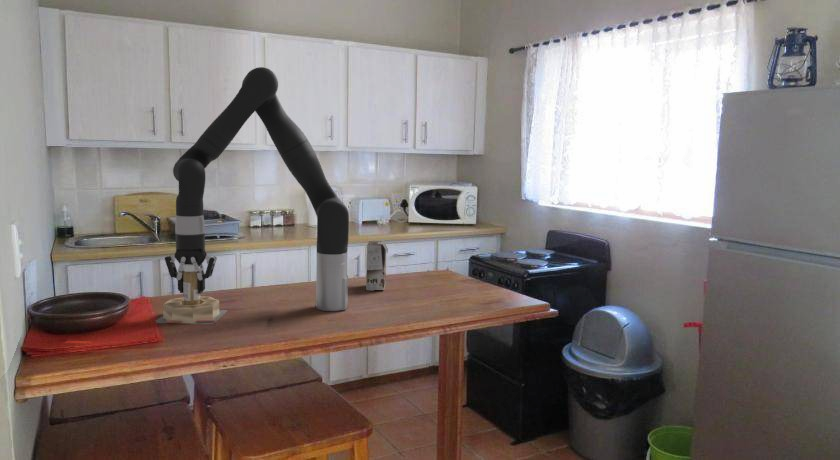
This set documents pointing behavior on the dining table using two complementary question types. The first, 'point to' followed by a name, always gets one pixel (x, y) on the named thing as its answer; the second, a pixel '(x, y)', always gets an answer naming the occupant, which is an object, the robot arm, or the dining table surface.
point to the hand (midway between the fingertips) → (191, 292)
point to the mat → (221, 312)
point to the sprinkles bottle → (190, 285)
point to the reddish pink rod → (196, 321)
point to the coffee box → (376, 266)
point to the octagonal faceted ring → (191, 310)
